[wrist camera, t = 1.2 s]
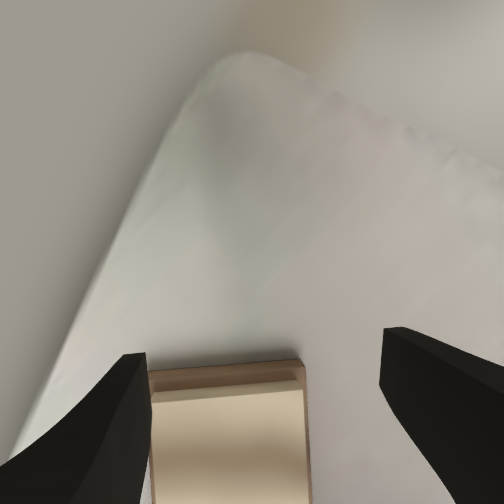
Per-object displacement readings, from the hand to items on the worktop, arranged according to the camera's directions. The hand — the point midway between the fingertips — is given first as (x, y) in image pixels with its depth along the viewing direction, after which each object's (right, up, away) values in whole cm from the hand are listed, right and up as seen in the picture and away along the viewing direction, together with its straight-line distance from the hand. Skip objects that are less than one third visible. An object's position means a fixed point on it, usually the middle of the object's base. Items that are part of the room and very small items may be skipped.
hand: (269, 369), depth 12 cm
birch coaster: (-2, -8, +10) cm, 13 cm away
